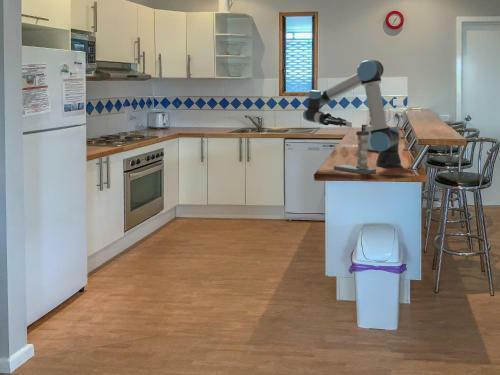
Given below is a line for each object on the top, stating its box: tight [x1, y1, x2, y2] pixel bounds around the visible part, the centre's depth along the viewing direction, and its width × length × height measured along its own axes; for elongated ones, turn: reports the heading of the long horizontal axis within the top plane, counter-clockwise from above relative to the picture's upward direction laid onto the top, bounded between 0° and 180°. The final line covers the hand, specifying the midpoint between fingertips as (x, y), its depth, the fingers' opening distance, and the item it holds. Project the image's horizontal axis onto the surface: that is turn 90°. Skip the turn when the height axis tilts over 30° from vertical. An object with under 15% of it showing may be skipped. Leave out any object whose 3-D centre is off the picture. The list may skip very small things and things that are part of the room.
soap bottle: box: [366, 114, 377, 152], centre depth 518 cm, size 9×9×25 cm
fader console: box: [333, 164, 377, 175], centre depth 419 cm, size 26×9×2 cm, turn 36°
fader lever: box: [355, 130, 369, 169], centre depth 412 cm, size 5×5×21 cm
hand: (351, 125), depth 420 cm, fingers closed
